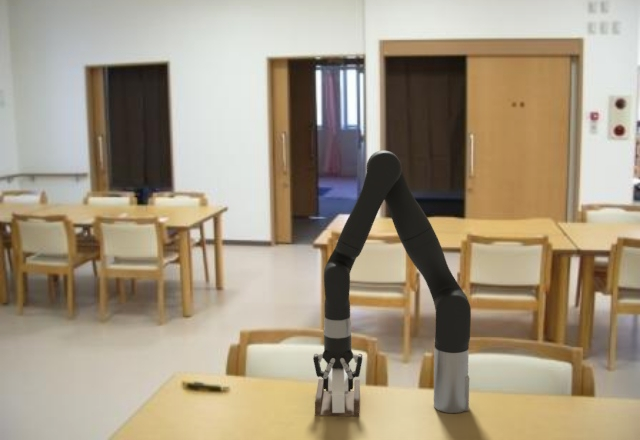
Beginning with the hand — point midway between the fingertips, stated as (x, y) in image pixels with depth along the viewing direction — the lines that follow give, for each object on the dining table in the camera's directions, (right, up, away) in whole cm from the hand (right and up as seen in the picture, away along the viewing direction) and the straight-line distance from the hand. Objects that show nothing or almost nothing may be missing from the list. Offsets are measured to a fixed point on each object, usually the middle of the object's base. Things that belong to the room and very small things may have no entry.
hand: (338, 390), depth 202 cm
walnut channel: (0, -4, +2) cm, 4 cm away
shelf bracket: (0, -3, +2) cm, 4 cm away
